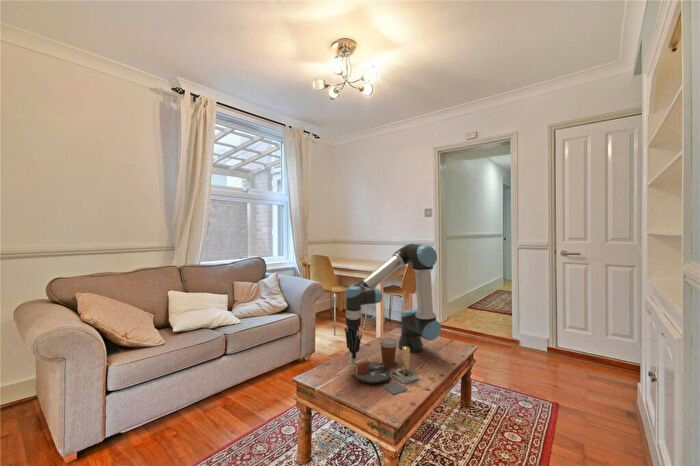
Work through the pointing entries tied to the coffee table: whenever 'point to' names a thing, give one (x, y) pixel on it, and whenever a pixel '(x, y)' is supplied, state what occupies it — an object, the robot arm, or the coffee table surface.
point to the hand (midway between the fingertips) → (352, 364)
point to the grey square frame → (405, 379)
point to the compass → (371, 372)
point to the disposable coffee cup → (388, 350)
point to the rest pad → (395, 388)
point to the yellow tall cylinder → (405, 360)
